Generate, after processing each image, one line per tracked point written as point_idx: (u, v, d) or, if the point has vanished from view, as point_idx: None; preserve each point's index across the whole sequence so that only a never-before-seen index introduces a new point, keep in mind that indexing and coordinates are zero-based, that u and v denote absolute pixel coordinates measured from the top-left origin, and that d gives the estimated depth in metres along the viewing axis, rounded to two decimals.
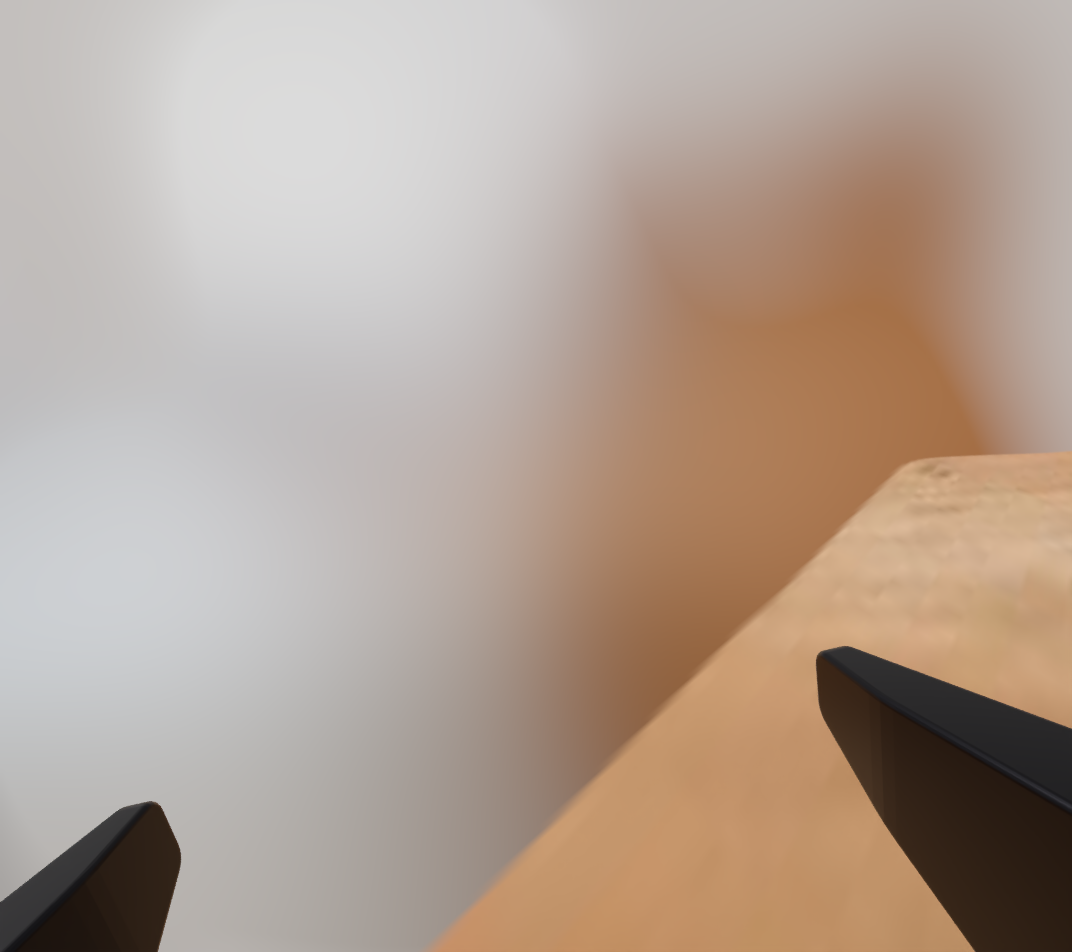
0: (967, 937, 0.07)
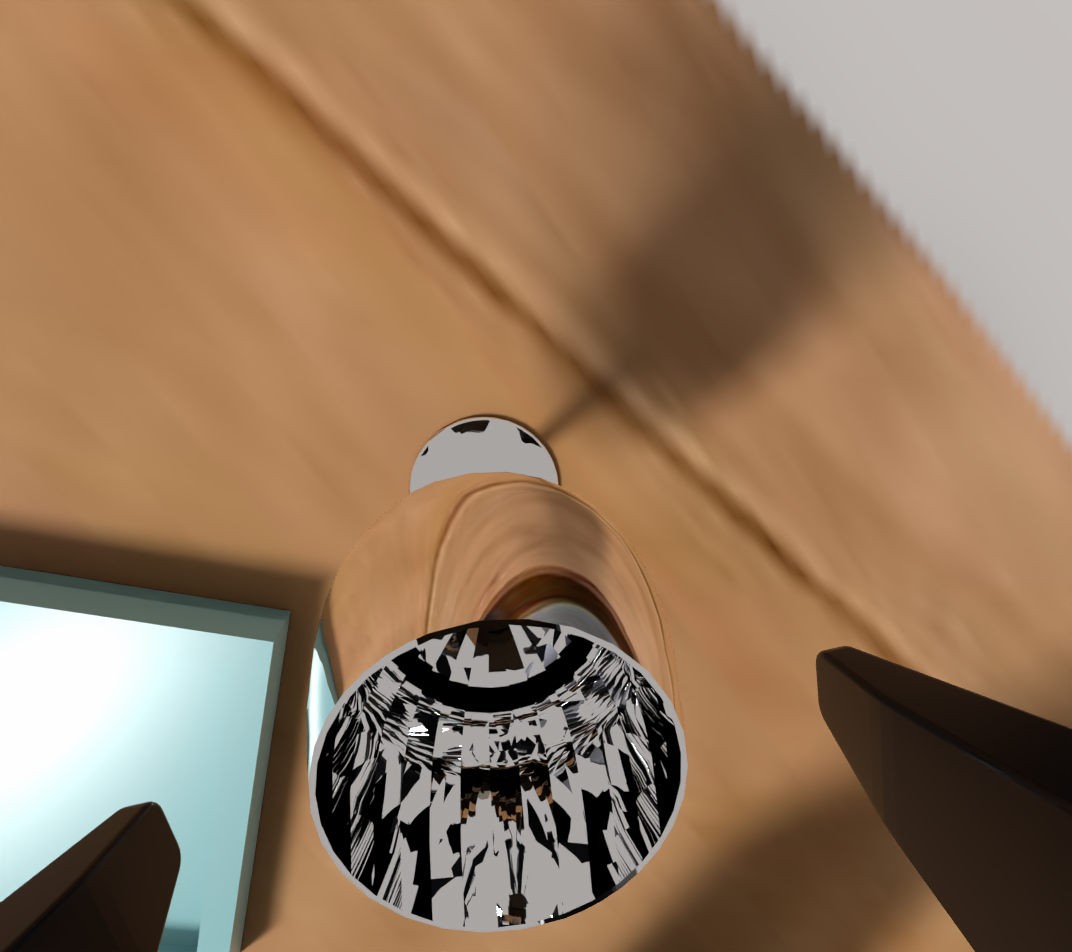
0: (967, 937, 0.07)
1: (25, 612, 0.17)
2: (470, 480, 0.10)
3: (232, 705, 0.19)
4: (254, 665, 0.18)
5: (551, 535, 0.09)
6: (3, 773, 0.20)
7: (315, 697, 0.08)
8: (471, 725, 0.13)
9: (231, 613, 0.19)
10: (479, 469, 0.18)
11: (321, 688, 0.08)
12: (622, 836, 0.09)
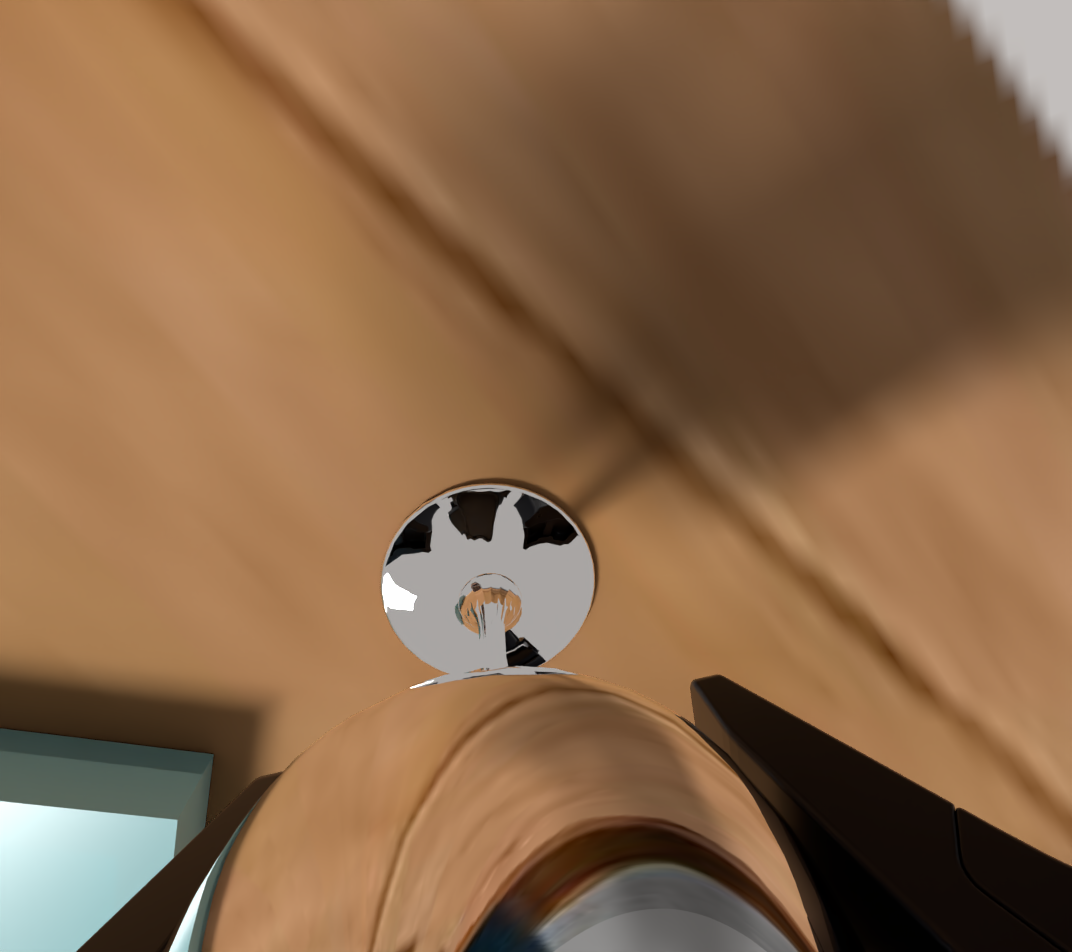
0: None
1: None
2: (464, 745, 0.05)
3: (120, 906, 0.13)
4: (150, 852, 0.12)
5: None
6: None
7: None
8: None
9: (123, 766, 0.13)
10: (481, 561, 0.13)
11: None
12: None
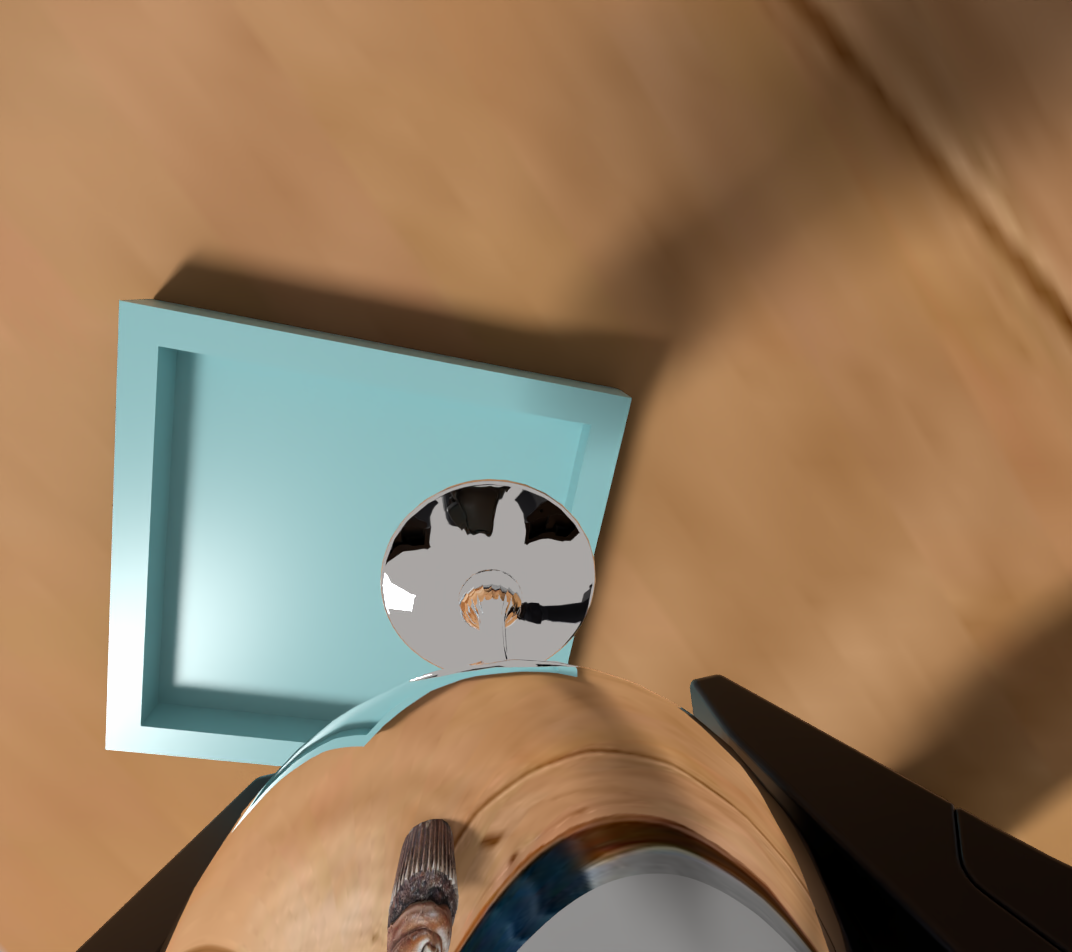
0: None
1: (411, 364, 0.18)
2: (467, 735, 0.05)
3: (586, 465, 0.19)
4: (611, 422, 0.19)
5: None
6: (347, 552, 0.21)
7: None
8: None
9: (575, 382, 0.20)
10: (482, 557, 0.13)
11: None
12: None
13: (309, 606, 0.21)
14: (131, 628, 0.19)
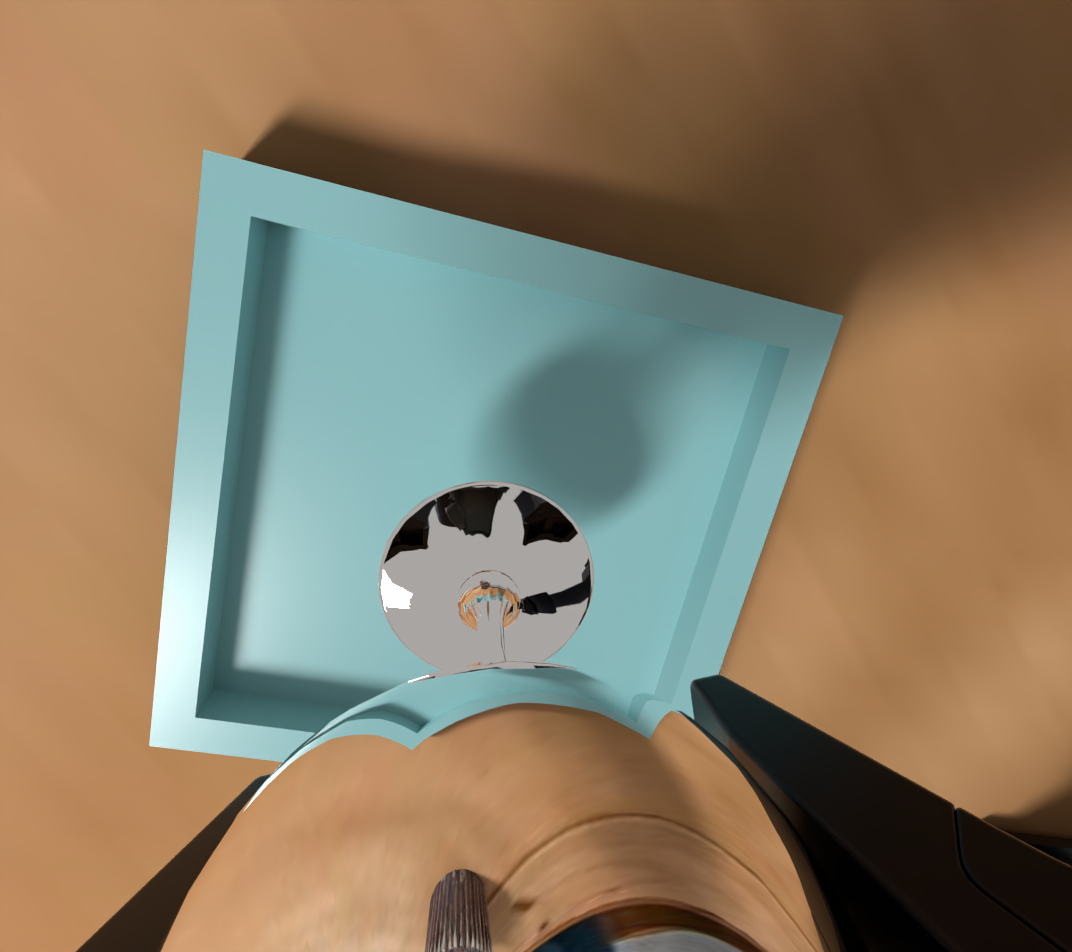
0: None
1: (574, 257, 0.14)
2: (462, 738, 0.05)
3: (777, 402, 0.15)
4: (814, 347, 0.15)
5: None
6: None
7: None
8: None
9: None
10: (480, 558, 0.13)
11: None
12: None
13: None
14: (191, 592, 0.15)
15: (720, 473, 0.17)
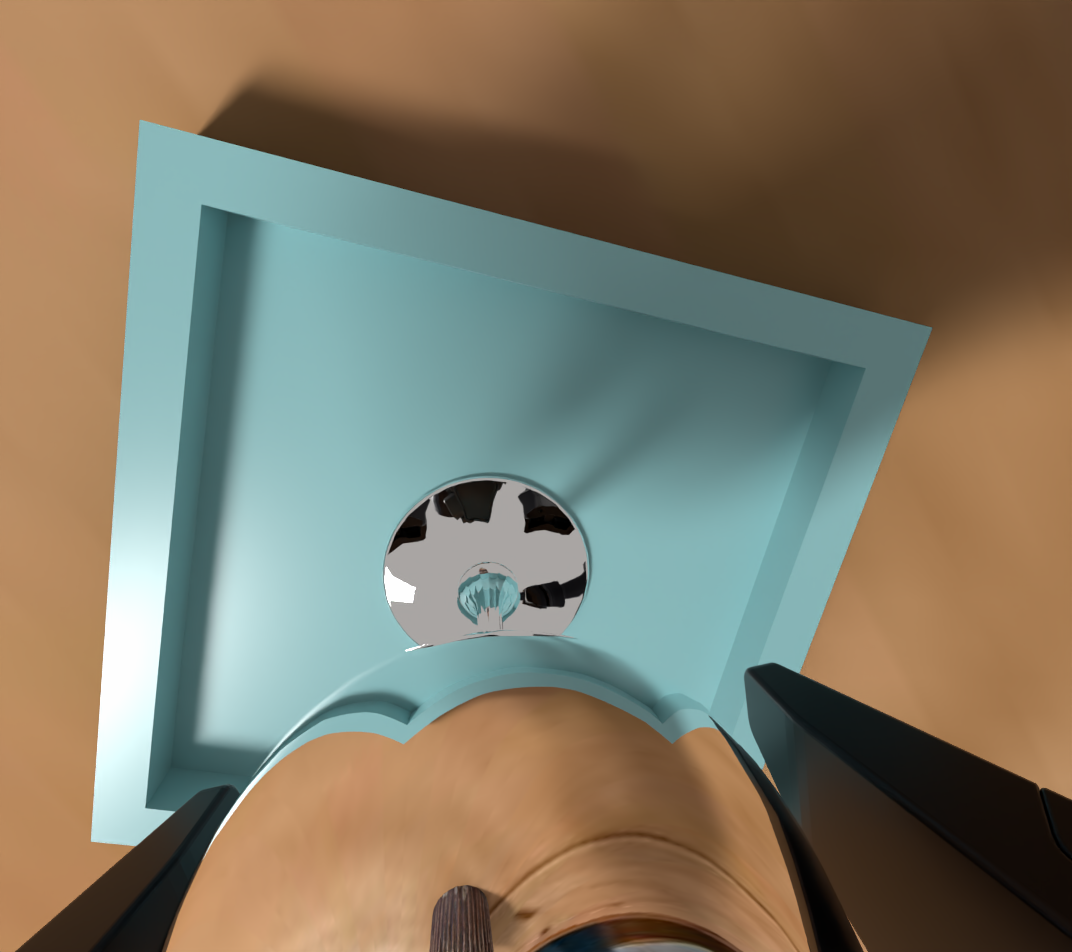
0: None
1: (606, 256, 0.11)
2: (463, 687, 0.05)
3: (848, 432, 0.13)
4: (896, 366, 0.12)
5: (664, 911, 0.04)
6: None
7: None
8: None
9: None
10: (480, 550, 0.13)
11: None
12: None
13: (402, 633, 0.14)
14: (137, 662, 0.13)
15: (773, 513, 0.14)
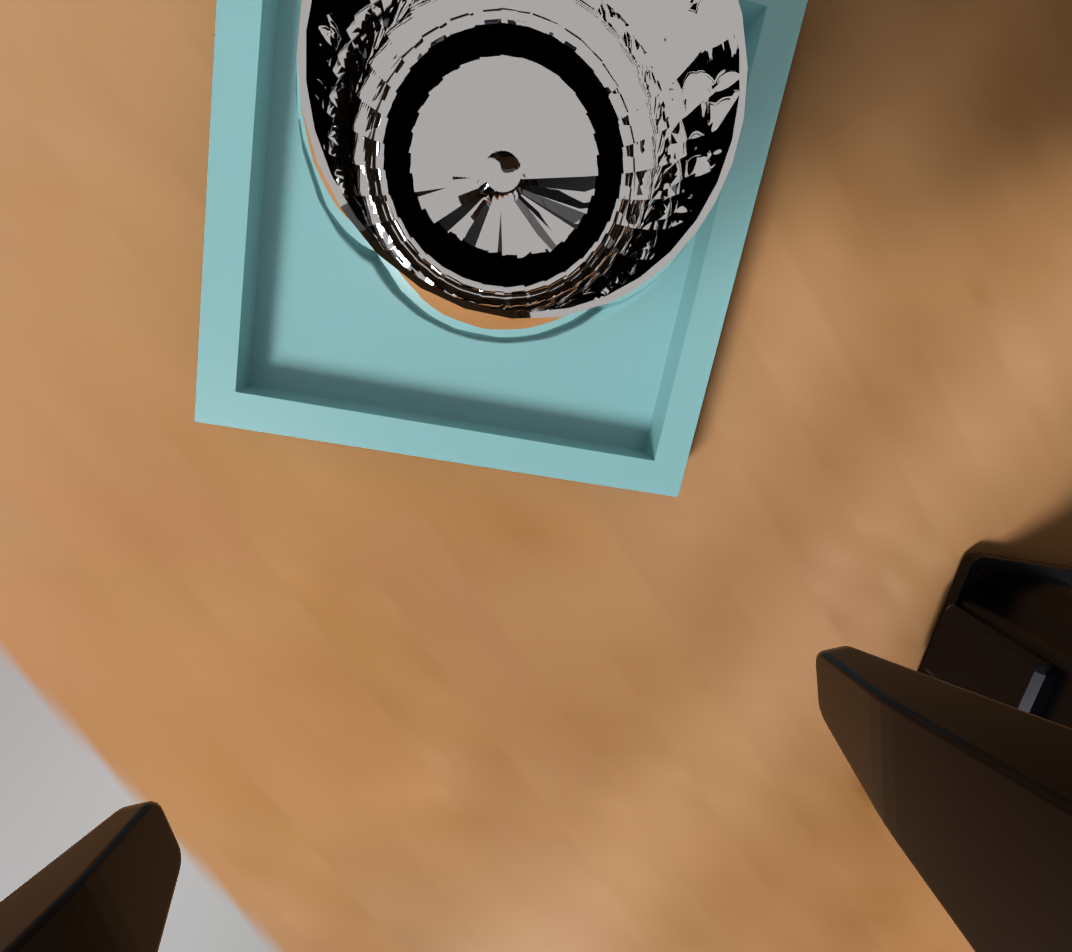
0: (968, 937, 0.07)
1: None
2: None
3: (758, 62, 0.17)
4: (790, 4, 0.16)
5: None
6: None
7: None
8: None
9: None
10: None
11: None
12: (667, 268, 0.08)
13: None
14: (228, 258, 0.17)
15: None
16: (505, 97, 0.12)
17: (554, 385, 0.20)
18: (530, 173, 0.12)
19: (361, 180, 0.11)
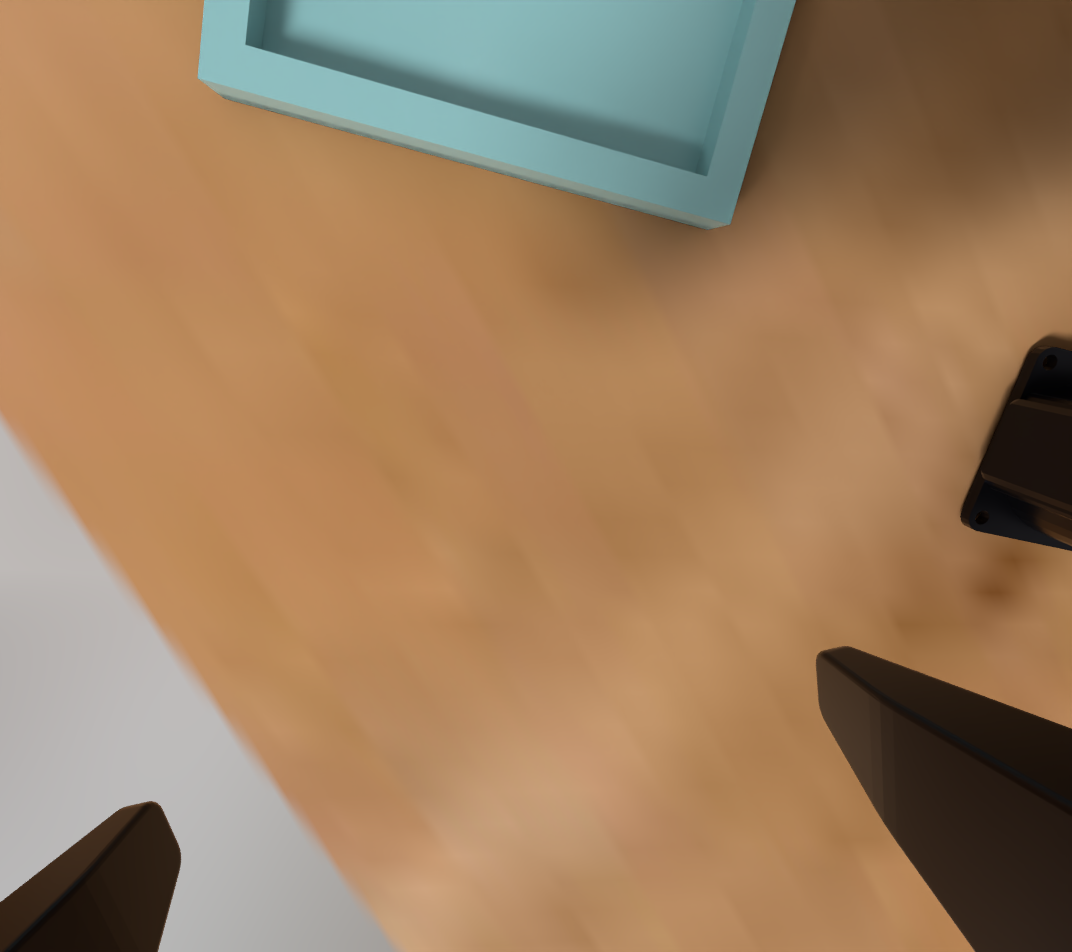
0: (967, 937, 0.07)
1: None
2: None
3: None
4: None
5: None
6: None
7: None
8: None
9: None
10: None
11: None
12: None
13: None
14: None
15: None
16: None
17: (598, 92, 0.18)
18: None
19: None
